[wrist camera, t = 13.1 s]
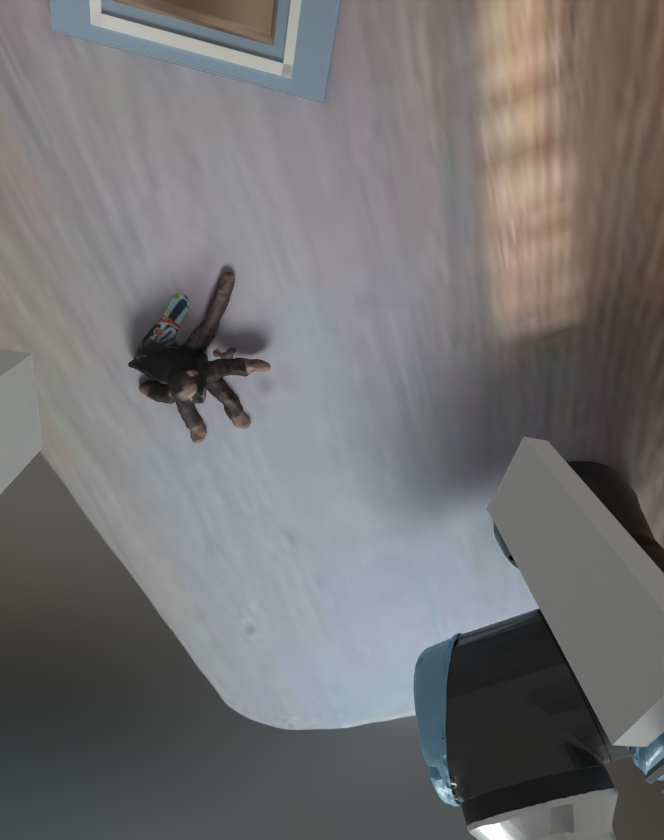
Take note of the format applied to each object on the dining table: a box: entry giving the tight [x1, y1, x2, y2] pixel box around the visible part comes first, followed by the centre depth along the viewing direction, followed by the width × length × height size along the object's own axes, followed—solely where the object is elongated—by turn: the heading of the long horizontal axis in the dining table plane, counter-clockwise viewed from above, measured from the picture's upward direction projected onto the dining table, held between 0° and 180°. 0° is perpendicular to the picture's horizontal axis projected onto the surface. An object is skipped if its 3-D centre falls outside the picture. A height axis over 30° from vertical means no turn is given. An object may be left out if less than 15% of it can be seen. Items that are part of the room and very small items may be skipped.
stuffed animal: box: [128, 273, 270, 443], centre depth 38 cm, size 12×10×12 cm
